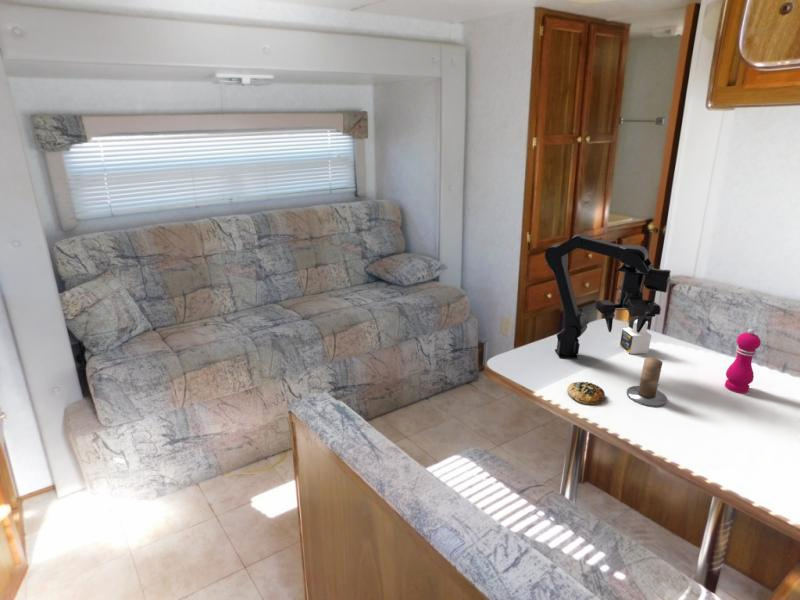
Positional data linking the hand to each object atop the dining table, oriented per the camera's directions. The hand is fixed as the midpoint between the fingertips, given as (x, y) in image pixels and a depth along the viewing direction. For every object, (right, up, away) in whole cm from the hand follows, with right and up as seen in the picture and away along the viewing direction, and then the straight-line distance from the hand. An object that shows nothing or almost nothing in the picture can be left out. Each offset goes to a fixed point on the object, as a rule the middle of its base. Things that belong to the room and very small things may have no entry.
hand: (623, 332), depth 172 cm
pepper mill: (+32, -17, -7) cm, 37 cm away
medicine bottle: (+11, -8, +19) cm, 23 cm away
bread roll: (-17, -19, -13) cm, 29 cm away
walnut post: (+1, -18, -14) cm, 23 cm away
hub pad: (+1, -19, -14) cm, 23 cm away
